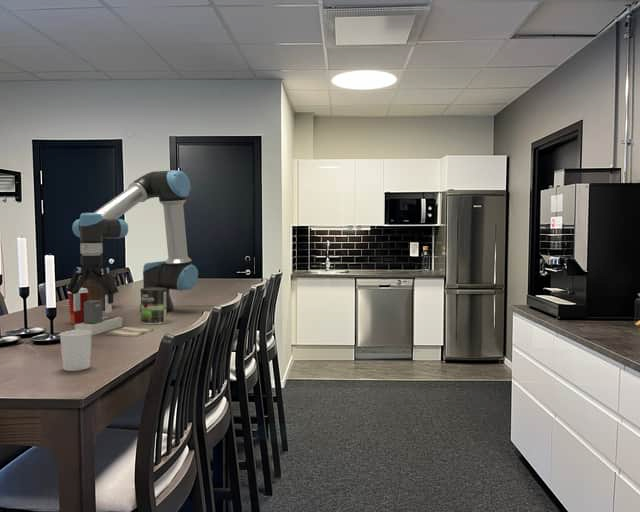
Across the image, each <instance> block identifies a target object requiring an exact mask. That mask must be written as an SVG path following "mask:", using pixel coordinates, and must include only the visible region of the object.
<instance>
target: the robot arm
mask: <svg viewBox="0 0 640 512" xmlns="http://www.w3.org/2000/svg"><path fill="white" fill-rule="evenodd" d="M191 186H192V185H191V182H190V179H189V177H188V175H186V173H185V172H183V171H181V170H173V169H172V170H161V171H160V170H159V171H157V170H156V171H150V172H148V173H145V174H143V175H142V176H139V178H137V179H135V180H134V181H132V182H131V183H130V184H129V185H128V188H126V189H125V190H124V191H122V192H121V193H120V194H119V195H117V196H115V197H114V198H112V199H111V200H110V201H108V202H107V203H105V204H104V205H102V206H101V207H100V208H98V209H97V210H95V211H94V212H83V213H81V214H80V216H79V219H75V221H74V222H73V223H72V226H71V230H72V233H73V234H74V235H75V237H77V238H80V239H79V241H80V242H79V243H80V246H79V248H80V254H81V255H80V266H81V267H80V266H77V267H73V273H72V276H71V278H70V281H69V283H68V286H67V288H66V292H67V293H68V292H71V293H72V302H73V303H74V311H79V310H80V293H79V290H80V289H81V288H82V286H83V285H84V283H85V282H86V281H87V280H96V281H98V282H99V284H100V285H101V286H102V288H103V289H104V290H105V292H106V293H107V295H105V310H104V311H105V313H106V314H109V313H112V312H113V309H112V308H113V304H114V295H115V294H117V293H119V290H118V289H119V288H118V287H117V285H116V281H115V282H114V280H113V278H112V276H111V274H112V273H111V268H110V267H104V268H103V264H104V261H103V260H104V259H103V258H104V257H103V255H102V254H103V253H104V252H103V251H104V250H103V249H104V247H103V239H122V238H125V237H126V236H127V235H128V232H129V225H128V223H127V221H126V220H124V219H122V218H120V217H122V216H123V215H124V214H126V213H127V212H129V211H130V210H131V209H132V208H134V207H136V205H138V204H139V203H144V202H146V201H147V200H149V199H153V198H158V200H159V201H158V202H159V203H160V204H161V205H162V206H163V214H164V215H163V216H164V218H163V219H164V226H165V227H164V228H165V236H166V247H167V258H166V260H164V261H161V260H160V261H153V262H146V263H144V265H143V267H142V268H143V269H142V282H143V288H149V287H162V288H167V290H166V313H169V312H173V311H174V310H175V309H174V303H173V300H172V298H171V293H170V291H171V290H175V291H188V290H189V291H190V290H192V289H193V288H194V287H195V285H196V284H197V282H198V278H199V270H198V267H196V266H195V265H194V264H193V263H192V261H193V260H192V259H191V258H190V257H189V255H188V245H187V244H188V243H187V235H186V233H187V232H186V223H185V222H186V221H185V212H184V211H185V209H184V204H185V203H186V201H187V197H188V196H189V195H190V192H191ZM81 274H82V276H81ZM102 274H104V277H105V279H106V281H107V282H106V281H105V279H104V277H103V275H102ZM80 276H81V277H80ZM139 312H140V313H141V304H140V306H139Z"/></svg>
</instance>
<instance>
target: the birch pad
mask: <svg viewBox="0 0 640 512" xmlns="http://www.w3.org/2000/svg"><path fill="white" fill-rule="evenodd" d="M154 329H155V328H154V327H135V326H124V327H119V328H116V329H113V330H110V331H106V332H105V336H113V337H115V336H116V337H128V338H129V337H132V338H136V337H139V336H141V335H145V334H148V333H150V332H153V331H154Z"/></svg>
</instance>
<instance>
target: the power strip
mask: <svg viewBox="0 0 640 512" xmlns="http://www.w3.org/2000/svg"><path fill="white" fill-rule="evenodd" d="M120 328H123V317H119V316H118V317H117V315H109V316H105V317H102V322H100V323H96V324H84V323H80V324H74V330H90V331H91V332H92V333H91V337H92V336H95V335H98V334H101V333H106V332H110V331H113V330H117V329H120Z"/></svg>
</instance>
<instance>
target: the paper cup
mask: <svg viewBox="0 0 640 512" xmlns="http://www.w3.org/2000/svg"><path fill="white" fill-rule="evenodd" d="M87 292H88V291H87V288H82V287H81V289H80V290H79V293H80V310H79V311H74V303H73V302H72V293H71V292H67V294H68V303H69V315H70V324H71V325H76V324H80V323H84V302H86V301H87Z"/></svg>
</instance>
